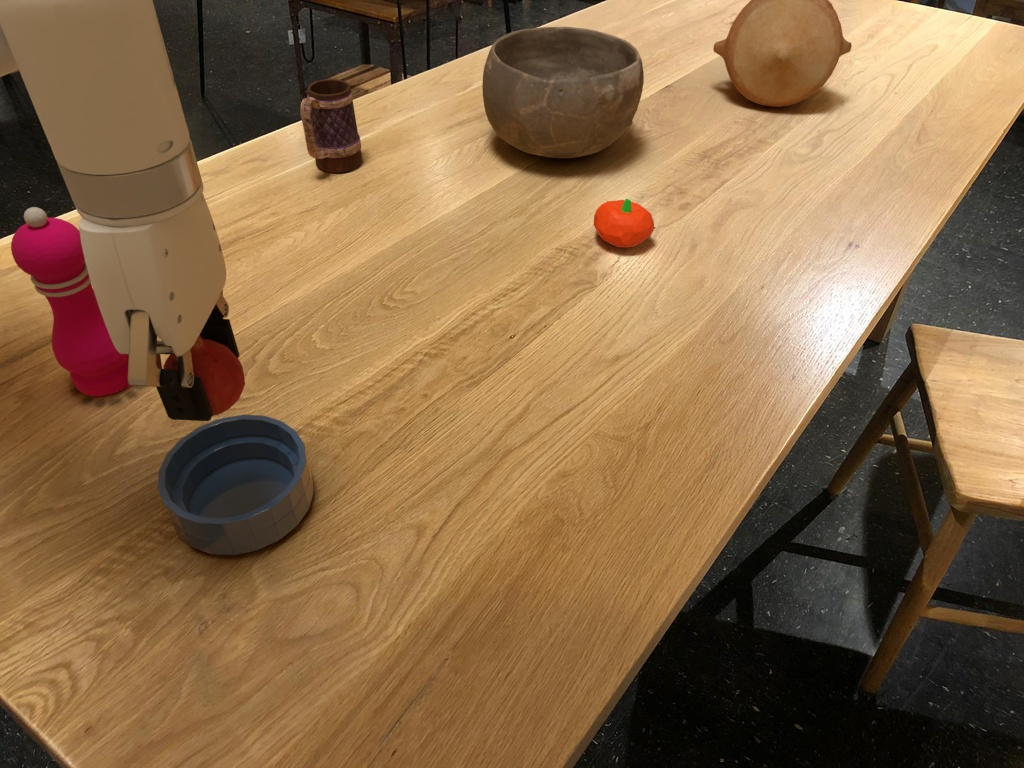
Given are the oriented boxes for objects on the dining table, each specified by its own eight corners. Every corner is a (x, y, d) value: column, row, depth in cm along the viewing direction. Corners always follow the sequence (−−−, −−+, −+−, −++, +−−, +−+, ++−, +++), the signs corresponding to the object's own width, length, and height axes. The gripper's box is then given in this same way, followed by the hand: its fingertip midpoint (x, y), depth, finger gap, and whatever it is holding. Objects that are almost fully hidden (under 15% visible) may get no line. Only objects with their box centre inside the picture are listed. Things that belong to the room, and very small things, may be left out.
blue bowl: (152, 555, 65) (134, 519, 61) (200, 448, 74) (186, 411, 70) (296, 562, 65) (286, 526, 61) (327, 453, 73) (319, 417, 70)
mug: (333, 148, 119) (321, 71, 111) (371, 158, 117) (363, 80, 109) (293, 176, 113) (278, 96, 104) (333, 187, 111) (322, 106, 102)
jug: (702, 39, 125) (701, 6, 149) (751, 139, 133) (743, 92, 157) (824, -34, 116) (802, -58, 140) (869, 77, 124) (841, 37, 148)
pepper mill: (70, 363, 82) (-13, 196, 68) (142, 347, 84) (76, 182, 70) (71, 408, 77) (-18, 237, 63) (147, 389, 79) (77, 221, 65)
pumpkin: (607, 220, 106) (612, 177, 102) (658, 239, 103) (666, 196, 98) (580, 242, 102) (584, 199, 97) (633, 263, 98) (640, 219, 94)
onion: (196, 450, 58) (167, 373, 53) (165, 409, 61) (134, 332, 56) (266, 415, 61) (244, 339, 56) (232, 378, 64) (209, 301, 59)
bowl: (666, 158, 120) (683, 61, 110) (541, 199, 110) (547, 96, 99) (572, 103, 134) (579, 12, 124) (454, 135, 124) (451, 39, 114)
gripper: (129, 112, 53) (195, 316, 66) (-1, 249, 41) (112, 470, 53) (236, 117, 53) (282, 320, 66) (140, 255, 41) (219, 474, 53)
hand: (205, 385), depth 59 cm, fingers closed on onion, 5 cm apart
